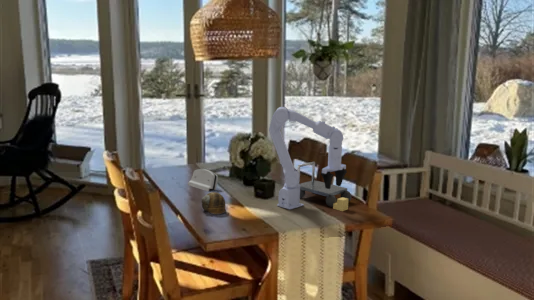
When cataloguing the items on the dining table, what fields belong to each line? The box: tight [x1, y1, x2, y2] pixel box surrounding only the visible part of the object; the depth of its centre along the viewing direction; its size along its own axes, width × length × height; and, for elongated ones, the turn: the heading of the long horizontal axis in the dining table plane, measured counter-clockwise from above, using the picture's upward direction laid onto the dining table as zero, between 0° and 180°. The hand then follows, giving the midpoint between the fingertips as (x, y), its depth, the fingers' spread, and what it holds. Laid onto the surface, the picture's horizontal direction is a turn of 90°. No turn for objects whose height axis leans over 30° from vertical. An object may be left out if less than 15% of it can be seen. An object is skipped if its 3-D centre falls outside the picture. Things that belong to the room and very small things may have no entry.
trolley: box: [296, 161, 352, 208], centre depth 232 cm, size 14×24×16 cm, turn 45°
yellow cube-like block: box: [332, 197, 349, 212], centre depth 219 cm, size 4×5×5 cm
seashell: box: [201, 191, 227, 215], centre depth 212 cm, size 11×9×8 cm
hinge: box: [187, 168, 219, 192], centre depth 250 cm, size 17×5×10 cm, turn 47°
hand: (333, 187), depth 220 cm, fingers open, 7 cm apart
